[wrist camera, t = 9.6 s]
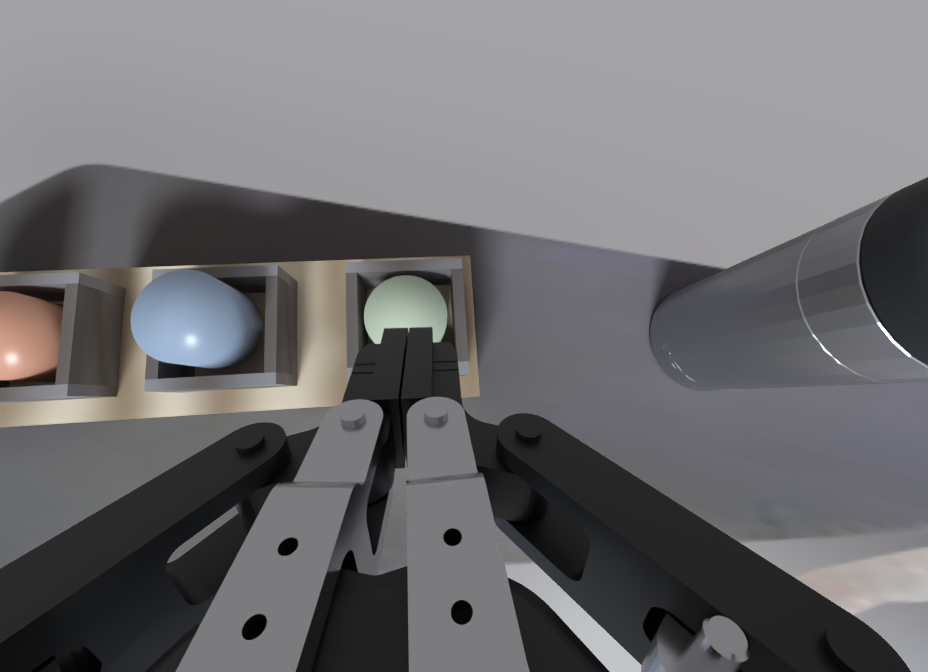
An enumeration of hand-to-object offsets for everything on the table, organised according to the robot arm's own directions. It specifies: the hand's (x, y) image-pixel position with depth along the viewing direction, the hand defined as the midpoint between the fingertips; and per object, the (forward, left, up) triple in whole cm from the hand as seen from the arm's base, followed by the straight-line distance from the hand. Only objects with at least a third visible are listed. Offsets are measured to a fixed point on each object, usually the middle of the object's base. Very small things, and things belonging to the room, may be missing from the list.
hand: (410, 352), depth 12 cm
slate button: (+8, -8, -9) cm, 14 cm away
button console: (+8, -8, -20) cm, 23 cm away
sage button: (-1, -3, -11) cm, 11 cm away
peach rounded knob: (+16, -13, -11) cm, 24 cm away
